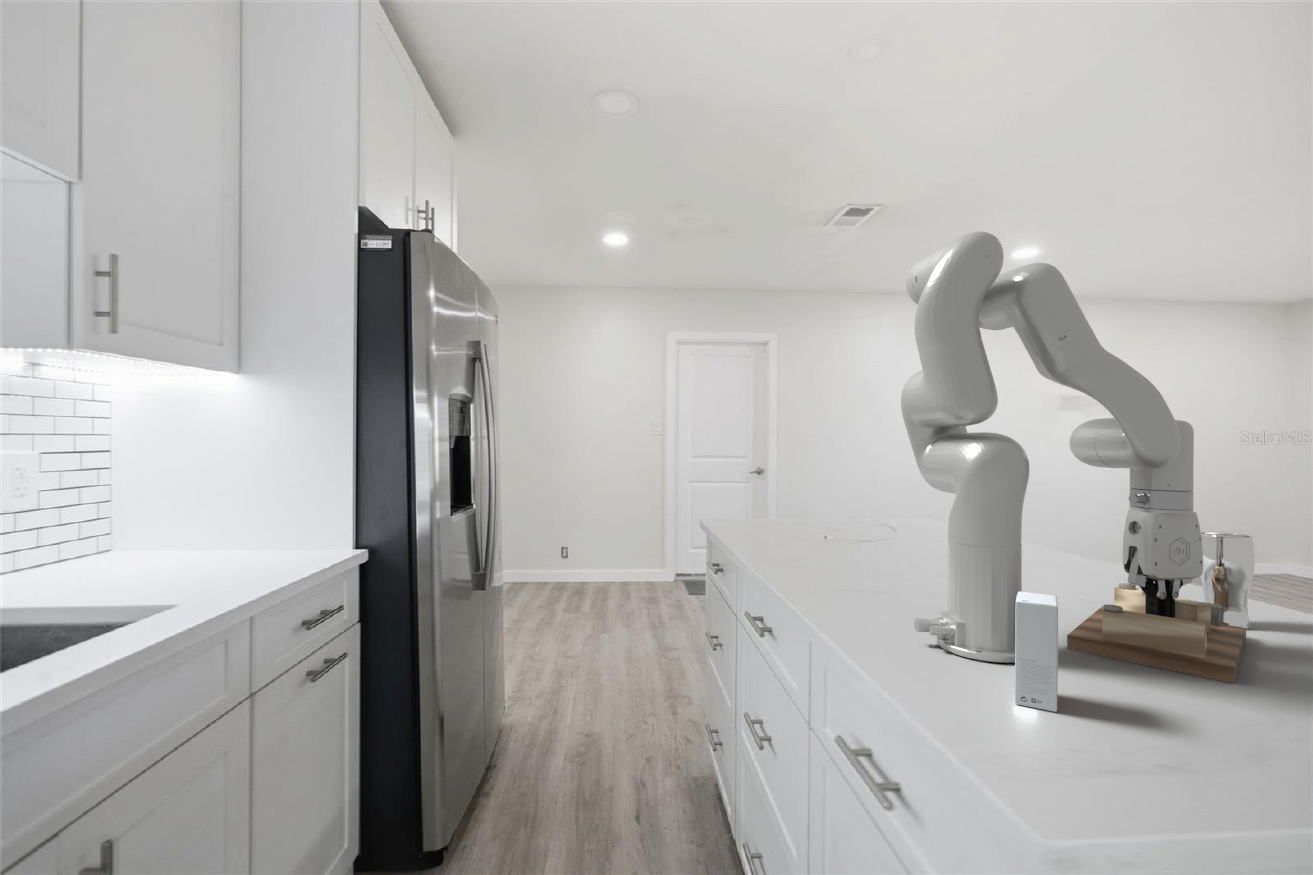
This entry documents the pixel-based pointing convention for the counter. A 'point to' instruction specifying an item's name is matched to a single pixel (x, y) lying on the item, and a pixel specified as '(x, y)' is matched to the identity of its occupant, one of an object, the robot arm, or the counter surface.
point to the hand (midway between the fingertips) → (1159, 623)
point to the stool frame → (1163, 641)
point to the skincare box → (1036, 650)
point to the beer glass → (1228, 575)
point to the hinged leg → (1184, 608)
